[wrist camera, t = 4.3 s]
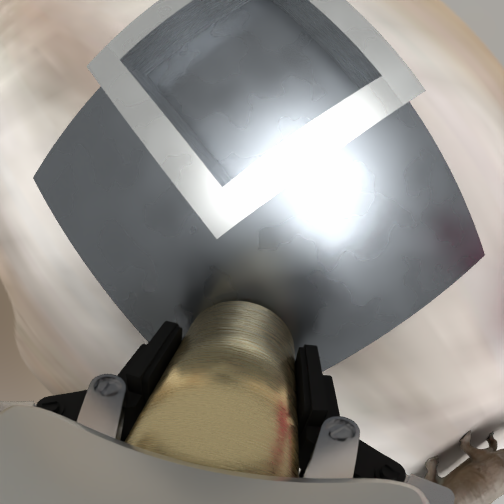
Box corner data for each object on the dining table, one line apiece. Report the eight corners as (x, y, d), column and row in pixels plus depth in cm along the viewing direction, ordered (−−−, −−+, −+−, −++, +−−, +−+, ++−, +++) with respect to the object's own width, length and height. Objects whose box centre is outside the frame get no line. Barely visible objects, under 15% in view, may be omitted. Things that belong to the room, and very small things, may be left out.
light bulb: (232, 400, 14) (202, 532, 6) (167, 334, 13) (83, 461, 5) (314, 359, 12) (333, 513, 5) (249, 279, 12) (202, 435, 4)
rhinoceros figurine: (364, 503, 16) (482, 561, 3) (445, 393, 21) (562, 418, 8) (383, 511, 18) (477, 555, 5) (451, 420, 23) (545, 444, 9)
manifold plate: (229, 399, 16) (216, 446, 12) (49, 175, 14) (2, 182, 10) (470, 247, 12) (513, 270, 8) (270, -21, 9) (265, -66, 6)
